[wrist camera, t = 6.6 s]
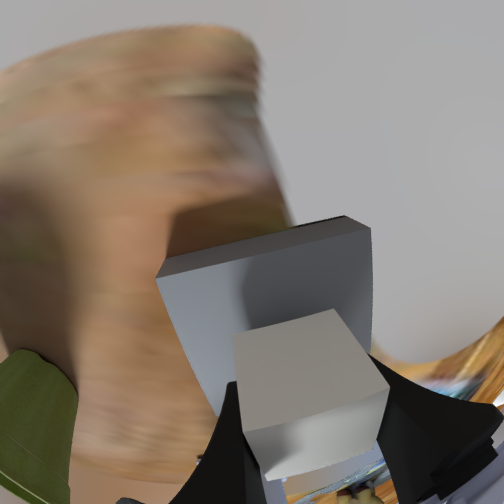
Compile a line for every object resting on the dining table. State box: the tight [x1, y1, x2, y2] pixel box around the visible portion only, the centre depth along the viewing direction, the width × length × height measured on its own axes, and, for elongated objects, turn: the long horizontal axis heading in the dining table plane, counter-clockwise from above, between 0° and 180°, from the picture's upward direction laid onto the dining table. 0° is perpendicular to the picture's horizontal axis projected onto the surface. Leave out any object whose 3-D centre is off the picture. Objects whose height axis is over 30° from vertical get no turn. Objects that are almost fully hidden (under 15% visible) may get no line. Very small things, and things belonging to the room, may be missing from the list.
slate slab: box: [155, 215, 373, 417], centre depth 15 cm, size 10×10×3 cm
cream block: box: [232, 309, 390, 481], centre depth 10 cm, size 4×4×5 cm
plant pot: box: [0, 349, 78, 504], centre depth 10 cm, size 12×12×11 cm
